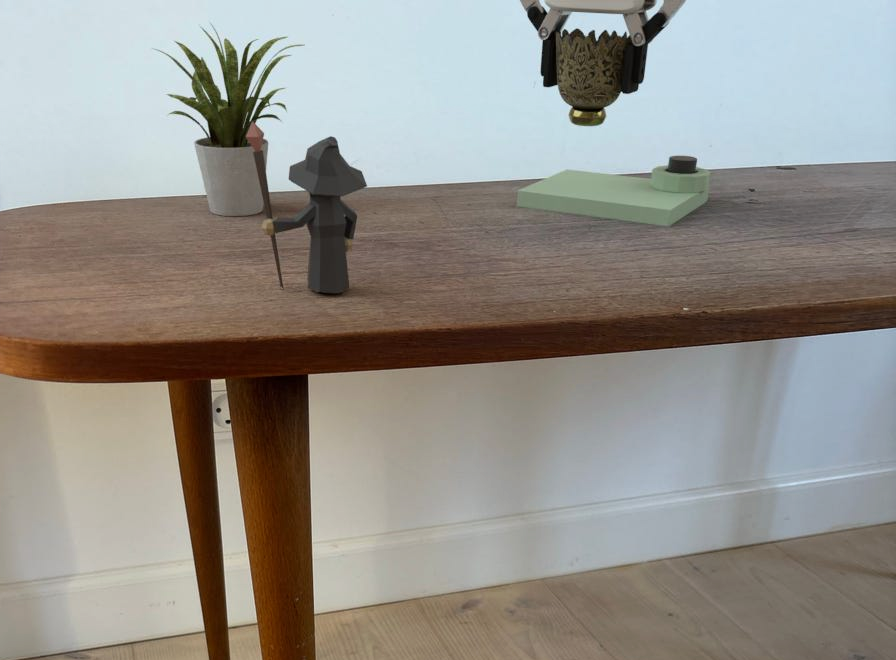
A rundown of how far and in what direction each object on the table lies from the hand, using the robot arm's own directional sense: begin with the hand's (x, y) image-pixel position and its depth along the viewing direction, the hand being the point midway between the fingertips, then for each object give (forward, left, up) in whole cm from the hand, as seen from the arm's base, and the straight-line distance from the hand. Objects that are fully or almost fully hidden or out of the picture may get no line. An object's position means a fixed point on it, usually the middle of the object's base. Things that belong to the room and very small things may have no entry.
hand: (590, 87), depth 102 cm
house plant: (+27, +20, -11) cm, 35 cm away
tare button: (-9, -6, -8) cm, 13 cm away
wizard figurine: (+6, +40, -11) cm, 42 cm away
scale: (-3, -2, -11) cm, 11 cm away
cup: (0, 0, -3) cm, 3 cm away
